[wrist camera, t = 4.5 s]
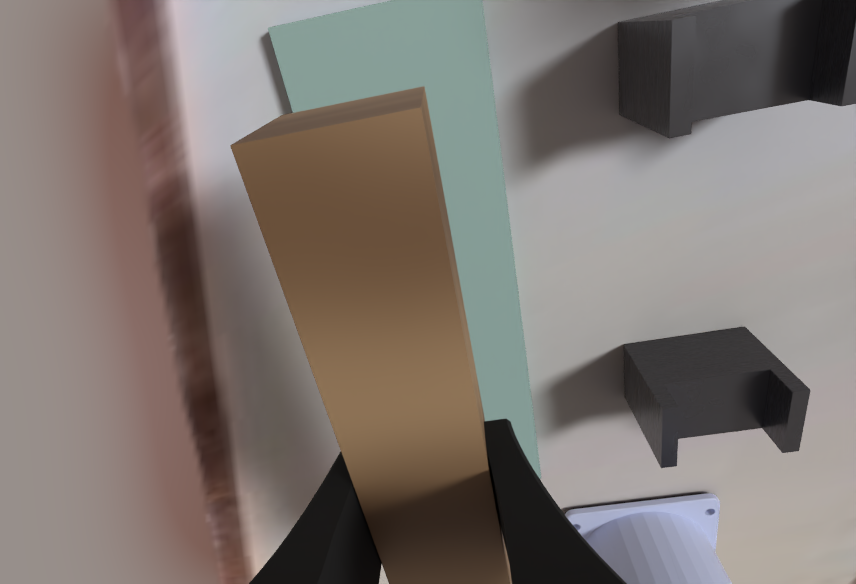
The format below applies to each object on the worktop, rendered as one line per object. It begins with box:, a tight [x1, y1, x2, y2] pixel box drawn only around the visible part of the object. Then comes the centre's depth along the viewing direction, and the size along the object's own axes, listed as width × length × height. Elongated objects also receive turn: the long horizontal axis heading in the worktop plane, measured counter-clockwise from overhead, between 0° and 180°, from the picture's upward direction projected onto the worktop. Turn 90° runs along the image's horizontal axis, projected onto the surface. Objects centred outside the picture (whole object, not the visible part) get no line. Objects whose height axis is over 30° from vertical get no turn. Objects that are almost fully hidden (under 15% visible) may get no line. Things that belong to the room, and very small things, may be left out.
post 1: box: [618, 0, 856, 138], centre depth 15 cm, size 3×5×4 cm, turn 101°
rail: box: [230, 86, 512, 584], centre depth 13 cm, size 18×3×3 cm, turn 11°
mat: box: [268, 0, 541, 479], centre depth 22 cm, size 22×7×1 cm, turn 11°
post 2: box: [624, 327, 810, 468], centre depth 21 cm, size 3×5×4 cm, turn 101°
